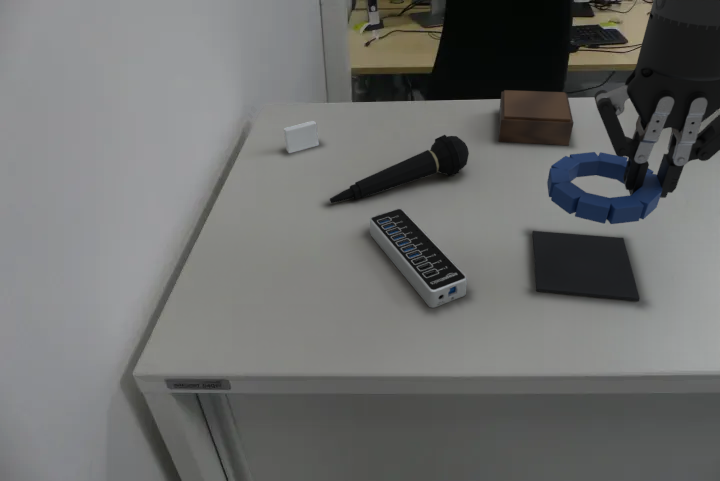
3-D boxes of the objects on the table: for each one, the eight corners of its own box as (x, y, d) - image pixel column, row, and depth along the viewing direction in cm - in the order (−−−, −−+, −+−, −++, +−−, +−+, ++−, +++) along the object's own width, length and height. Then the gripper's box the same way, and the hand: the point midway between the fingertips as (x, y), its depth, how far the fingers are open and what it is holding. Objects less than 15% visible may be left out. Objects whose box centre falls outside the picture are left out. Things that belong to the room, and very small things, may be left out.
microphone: (340, 229, 73) (473, 176, 77) (337, 203, 68) (479, 148, 72) (324, 199, 76) (453, 149, 80) (320, 172, 71) (457, 120, 75)
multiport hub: (401, 222, 69) (401, 206, 67) (467, 294, 58) (469, 278, 57) (368, 232, 68) (368, 217, 66) (431, 309, 57) (431, 292, 56)
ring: (644, 169, 59) (648, 154, 57) (666, 228, 51) (672, 212, 50) (544, 163, 60) (547, 149, 59) (551, 220, 52) (554, 204, 51)
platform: (563, 114, 89) (567, 91, 87) (568, 145, 82) (574, 120, 79) (499, 112, 91) (501, 88, 89) (498, 141, 84) (501, 117, 81)
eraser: (319, 145, 85) (316, 123, 83) (289, 153, 84) (285, 131, 82) (315, 142, 86) (313, 120, 84) (286, 150, 85) (282, 128, 82)
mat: (622, 240, 64) (623, 237, 64) (638, 301, 57) (639, 298, 56) (532, 233, 66) (532, 230, 66) (536, 291, 58) (536, 288, 58)
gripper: (785, -7, 45) (711, 176, 56) (605, -8, 48) (568, 168, 59) (826, 23, 40) (735, 220, 50) (619, 20, 42) (575, 209, 53)
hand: (645, 191), depth 54 cm, fingers closed on ring, 2 cm apart
